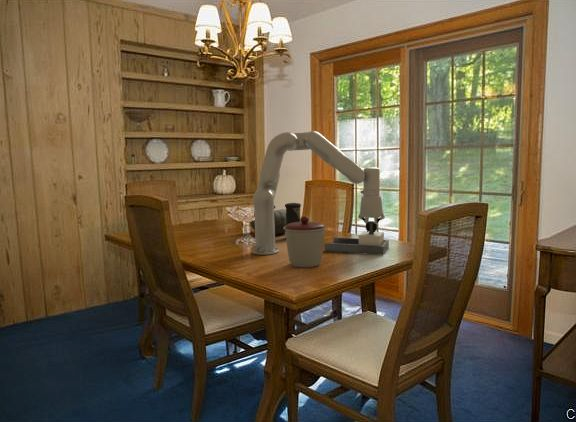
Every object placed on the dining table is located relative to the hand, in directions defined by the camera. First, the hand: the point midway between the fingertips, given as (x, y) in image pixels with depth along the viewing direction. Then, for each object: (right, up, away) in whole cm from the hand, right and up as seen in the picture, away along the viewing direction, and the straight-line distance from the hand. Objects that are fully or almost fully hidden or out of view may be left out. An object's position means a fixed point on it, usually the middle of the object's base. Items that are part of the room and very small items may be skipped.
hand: (371, 231), depth 214 cm
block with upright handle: (0, -8, +1) cm, 8 cm away
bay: (-6, -9, +4) cm, 12 cm away
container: (-37, -6, +37) cm, 53 cm away
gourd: (-50, -4, +53) cm, 73 cm away
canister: (-33, -14, -24) cm, 43 cm away
